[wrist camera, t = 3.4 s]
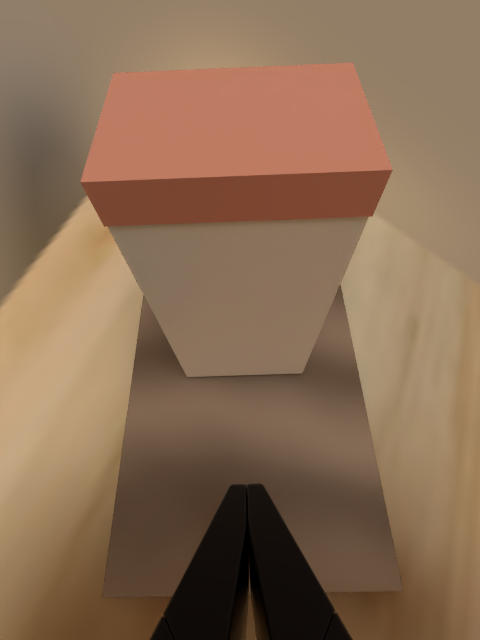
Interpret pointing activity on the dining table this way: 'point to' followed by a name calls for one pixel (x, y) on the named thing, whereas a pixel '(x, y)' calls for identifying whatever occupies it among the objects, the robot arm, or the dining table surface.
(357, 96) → the switch lever
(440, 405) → the dining table surface
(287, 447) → the switch base
